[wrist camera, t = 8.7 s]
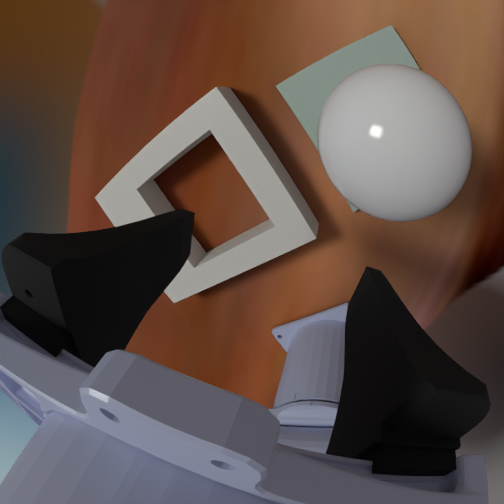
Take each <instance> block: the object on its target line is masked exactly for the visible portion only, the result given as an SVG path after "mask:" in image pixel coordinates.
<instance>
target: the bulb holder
mask: <svg viewBox="0 0 504 504" xmlns="http://www.w3.org/2000/svg"><path fill="white" fill-rule="evenodd" d="M211 134H213V135H214V137H215V138H216V140H217V141H218V142H219V144H220V145H221V147H222V148H223V150H224V151H225V153H226V154H227V155H228V157H229V158H230V160H231V161H232V163H233V164H234V166H235V167H236V169H237V170H238V172H239V173H240V175H241V176H242V177H243V179H244V180H245V182H246V183H247V185H248V186H249V188H250V189H251V191H252V192H253V194H254V195H255V197H256V198H257V200H258V201H259V203H260V204H261V206H262V207H263V209H264V210H265V212H266V213H267V215H268V216H269V218H270V219H268V220H267V221H265V222H263V223H261V224H259V225H257V226H255V227H253V228H251V229H250V230H248V231H246V232H244V233H242V234H240V235H238V236H236V237H234V238H233V239H231V240H229V241H227V242H225V243H223V244H221V245H220V246H218V247H216V248H214V249H212V250H210V251H208V252H207V253H206V252H205V250H204V249H203V248H202V246H201V245H200V244H199V242H198V241H197V240H196V238H195V237H194V235H193V234H192V242H191V252H190V256H189V257H188V259H187V261H186V262H185V264H184V266H183V267H182V269H181V270H180V272H179V273H178V274H177V276H176V277H175V278H174V279H173V281H172V282H171V283H170V284H169V285H168V287H167V288H166V289H165V290H164V292H165V293H166V294H167V295H168V297H169V298H170V299H171V300H172V301H173V303H175V302H178V301H180V300H182V299H184V298H187V297H189V296H191V295H193V294H196V293H198V292H200V291H202V290H205V289H207V288H209V287H211V286H214V285H216V284H218V283H220V282H223V281H225V280H227V279H229V278H231V277H234V276H236V275H238V274H240V273H243V272H245V271H247V270H249V269H251V268H254V267H256V266H258V265H260V264H262V263H265V262H267V261H269V260H271V259H273V258H275V257H278V256H280V255H282V254H284V253H286V252H289V251H291V250H293V249H295V248H297V247H299V246H302V245H304V244H306V243H308V242H310V241H312V240H315V239H316V238H317V232H318V226H319V223H318V221H317V219H316V218H315V216H314V214H313V213H312V211H311V209H310V208H309V206H308V204H307V203H306V201H305V199H304V198H303V196H302V194H301V193H300V191H299V190H298V188H297V186H296V185H295V183H294V182H293V180H292V178H291V177H290V175H289V174H288V172H287V171H286V169H285V167H284V166H283V164H282V163H281V161H280V160H279V158H278V157H277V155H276V153H275V152H274V150H273V149H272V147H271V146H270V144H269V143H268V141H267V140H266V138H265V137H264V135H263V134H262V132H261V131H260V130H259V128H258V127H257V125H256V124H255V122H254V121H253V119H252V118H251V116H250V115H249V114H248V112H247V111H246V109H245V108H244V106H243V105H242V104H241V102H240V101H239V99H238V98H237V97H236V95H235V94H234V92H233V91H232V90H231V88H230V87H215V88H214V89H213V90H211V91H210V92H209V93H208V94H206V95H205V96H204V97H202V98H201V99H200V100H199V101H197V102H196V103H195V104H194V105H192V106H191V107H190V108H189V109H187V110H186V111H185V112H184V113H183V114H181V115H180V116H179V117H178V118H177V119H175V120H174V121H173V122H172V123H171V124H170V125H168V126H167V127H166V128H165V129H164V130H163V131H162V132H160V133H159V134H158V135H157V136H156V137H155V138H154V139H153V140H152V141H151V142H149V143H148V144H147V145H146V146H145V147H144V148H143V149H142V150H141V151H140V152H139V153H138V154H137V155H136V156H135V157H134V158H133V159H132V160H131V161H130V162H128V163H127V164H126V165H125V166H124V167H123V168H122V169H121V170H120V172H119V173H118V174H117V175H116V176H115V177H114V178H113V179H112V180H111V181H110V182H109V183H108V184H107V185H106V186H105V187H104V188H103V189H102V190H101V191H100V193H99V194H98V195H97V196H96V197H95V199H96V200H97V202H98V203H99V204H100V206H101V207H102V209H103V210H104V212H105V213H106V215H107V216H108V217H109V219H110V220H111V222H112V223H113V225H114V226H115V227H118V226H122V225H125V224H129V223H133V222H136V221H140V220H144V219H147V218H150V217H153V216H157V215H160V214H163V213H167V212H170V211H174V210H175V209H174V208H173V206H172V205H171V204H170V202H169V201H168V199H167V198H166V196H165V195H164V194H163V192H162V191H161V189H160V188H159V186H158V185H157V184H156V182H155V181H154V179H155V178H156V177H157V176H159V175H160V174H161V173H162V172H163V171H165V170H166V169H167V168H168V167H169V166H171V165H172V164H173V163H174V162H176V161H177V160H178V159H179V158H181V157H182V156H183V155H184V154H186V153H187V152H188V151H190V150H191V149H192V148H194V147H195V146H196V145H197V144H199V143H200V142H201V141H203V140H204V139H205V138H207V137H208V136H209V135H211Z"/></svg>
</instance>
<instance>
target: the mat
mask: <svg viewBox="0 0 504 504" xmlns="http://www.w3.org/2000/svg"><path fill="white" fill-rule="evenodd" d="M380 63H396V64H403V65H407V66H411V67H414V68H417V69H419V67H418V65H417V64H416V62H415V60H414V59H413V57H412V55H411V54H410V52H409V51H408V49H407V47H406V46H405V44H404V43H403V41H402V40H401V38H400V37H399V35H398V34H397V32H396V31H395V30H394V28H393V27H392V25H390V26H388V27H386V28H384V29H381V30H379V31H377V32H375V33H372V34H370V35H368V36H366V37H364V38H362V39H360V40H358V41H356V42H354V43H352V44H350V45H348V46H346V47H344V48H342V49H340V50H338V51H336V52H334V53H332V54H330V55H328V56H327V57H325V58H323V59H321V60H319V61H317V62H316V63H314V64H312V65H310V66H308V67H307V68H305V69H303V70H302V71H300V72H298V73H296V74H295V75H293V76H291V77H290V78H288V79H286V80H285V81H283V82H281V83H280V84H278V85H277V86H276V87H277V89H278V90H279V92H280V93H281V94H282V96H283V97H284V99H285V100H286V102H287V103H288V105H289V106H290V108H291V109H292V111H293V112H294V114H295V115H296V117H297V118H298V120H299V121H300V123H301V124H302V126H303V127H304V129H305V130H306V132H307V134H308V135H309V137H310V138H311V140H312V141H313V143H314V145H315V146H316V148H317V150H318V142H317V128H318V121H319V116H320V113H321V110H322V107H323V105H324V102H325V100H326V99H327V97H328V95H329V94H330V92H331V91H332V90H333V88H334V87H335V86H336V85H337V84H338V83H339V82H340V81H341V80H342V79H343V78H345V77H346V76H347V75H349V74H351V73H352V72H354V71H356V70H358V69H360V68H363V67H366V66H369V65H374V64H380ZM419 70H420V69H419ZM318 151H319V150H318ZM348 203H349V202H348ZM349 205H350V207H351V209H352V211H353V212H354V211H356V210H359V209H357V208H356V207H355V206H353V205H352V204H351V203H349Z"/></svg>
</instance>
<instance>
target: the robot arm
mask: <svg viewBox="0 0 504 504" xmlns="http://www.w3.org/2000/svg"><path fill="white" fill-rule="evenodd" d="M194 214H195V213H193V212H190V211H187V210H183V209H179V210H174V211H170V212H167V213H163V214H160V215H157V216H153V217H150V218H147V219H144V220H140V221H136V222H133V223H129V224H125V225H122V226H118V227H113V228H108V229H102V230H97V231H88V232H79V233H65V234H43V233H23V234H22V235H20V236H19V237H17V238H16V239H14V240H13V241H11V242H10V243H9V244H7V245H6V246H5V247H4V248H3V252H2V263H3V268H4V271H5V274H6V277H7V280H8V283H9V286H10V289H11V292H12V294H13V296H12V297H11V298H10V299H8V300H7V298H6V297H5V295H3V293H2V292H0V389H1V390H2V391H3V392H4V393H5V394H6V395H7V396H8V397H9V398H10V399H11V400H12V401H13V402H14V403H15V404H16V405H17V406H18V407H19V408H20V409H21V410H23V411H24V412H25V413H26V414H27V415H28V416H29V417H30V418H31V419H33V420H34V421H35V422H36V423H37V424H38V425H40V427H39V428H38V429H37V431H36V432H35V434H34V435H33V437H32V438H31V439H30V441H29V442H28V444H27V445H26V447H25V448H24V450H23V451H22V453H21V454H20V456H19V457H18V458H17V460H16V462H15V463H14V465H13V466H12V468H11V469H10V471H9V472H8V474H7V475H6V477H5V478H4V480H3V481H2V483H1V485H0V504H488V483H487V470H486V459H485V455H483V454H482V455H463V456H459V457H457V458H456V454H455V450H457V449H459V448H460V445H461V444H460V437H462V436H463V435H464V434H466V433H467V432H468V431H470V430H471V429H472V428H474V427H475V426H476V425H477V424H478V423H480V422H481V421H482V420H483V419H484V417H485V416H486V414H487V413H488V412H489V409H490V400H489V396H488V391H487V387H486V384H484V383H483V382H481V381H480V380H479V379H477V378H476V377H474V376H473V375H471V374H470V373H469V372H467V371H466V370H465V369H463V368H462V367H461V366H460V365H459V364H457V363H456V362H455V361H454V360H453V359H451V358H450V357H449V356H448V355H447V354H446V353H445V352H444V351H443V350H442V349H441V348H440V347H439V346H438V345H437V344H436V343H435V342H434V341H433V340H432V339H431V338H430V337H429V336H428V335H427V334H426V332H425V331H424V330H423V329H422V328H421V326H420V325H419V324H418V323H417V321H416V320H415V319H414V317H413V316H412V315H411V313H410V312H409V311H408V309H407V308H406V307H405V305H404V304H403V302H402V301H401V299H400V298H399V296H398V295H397V293H396V292H395V290H394V289H393V287H392V286H391V284H390V283H389V282H388V280H387V279H386V277H385V276H384V275H383V273H382V272H381V271H380V270H377V269H374V268H370V267H366V269H365V271H364V273H363V275H362V277H361V279H360V281H359V283H358V285H357V288H356V290H355V292H354V294H353V296H352V298H351V300H350V302H349V303H344V304H341V305H339V306H336V307H333V308H330V309H328V310H325V311H322V312H319V313H316V314H314V315H311V316H308V317H305V318H302V319H299V320H296V321H293V322H290V323H287V324H284V325H281V326H278V327H275V328H274V329H273V331H272V334H273V335H274V337H275V338H276V339H277V340H278V342H279V343H280V344H281V346H282V347H283V348H284V349H285V351H286V352H287V357H286V360H285V364H284V368H283V372H282V376H281V380H280V384H279V387H278V391H277V395H276V398H275V402H274V405H273V409H267V408H266V407H265V406H263V405H261V404H259V403H257V402H254V401H252V400H250V399H248V398H246V397H244V396H241V395H238V394H235V393H232V392H229V391H227V390H224V389H221V388H218V387H215V386H213V385H210V384H207V383H205V382H202V381H200V380H197V379H194V378H192V377H189V376H187V375H184V374H182V373H180V372H177V371H175V370H172V369H170V368H168V367H165V366H163V365H161V364H158V363H156V362H154V361H152V360H150V359H147V358H145V357H143V356H141V355H138V354H135V353H131V352H128V351H125V348H126V346H127V344H128V343H129V341H130V339H131V337H132V336H133V334H134V332H135V330H136V329H137V327H138V325H139V324H140V322H141V321H142V319H143V317H144V316H145V314H146V313H147V311H148V310H149V309H150V307H151V306H152V305H153V303H154V302H155V301H156V300H157V299H158V297H159V296H160V295H161V294H162V293H163V291H164V290H165V289H166V288H167V287H168V285H169V284H170V283H171V282H172V281H173V279H174V278H175V277H176V276H177V274H178V273H179V272H180V270H181V269H182V267H183V266H184V264H185V262H186V261H187V259H188V257H189V256H190V252H191V242H192V232H193V223H194ZM279 335H281V336H279Z"/></svg>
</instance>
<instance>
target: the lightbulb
mask: <svg viewBox="0 0 504 504" xmlns="http://www.w3.org/2000/svg"><path fill="white" fill-rule="evenodd" d="M317 142H318V150H319V155H320V158H321V162H322V164H323V167H324V169H325V172H326V174H327V175H328V177H329V179H330V181H331V182H332V184H333V185H334V187H335V188H336V189H337V190H338V192H339V193H340V194H341V195H342V196H343V197H344V198H345V199H346V200H347V201H348V202H349V203H351V204H352V205H353V206H355V207H356V208H357V209H359V210H361V211H362V212H364V213H366V214H368V215H371V216H373V217H376V218H379V219H382V220H387V221H394V222H410V221H416V220H421V219H424V218H427V217H429V216H432V215H434V214H436V213H437V212H439V211H441V210H442V209H444V208H445V207H446V206H447V205H449V204H450V203H451V202H452V201H453V200H454V199H455V197H456V196H457V195H458V193H459V192H460V191H461V189H462V187H463V186H464V184H465V182H466V179H467V177H468V174H469V171H470V167H471V161H472V138H471V132H470V128H469V125H468V122H467V119H466V116H465V114H464V112H463V110H462V108H461V106H460V105H459V103H458V101H457V100H456V99H455V97H454V96H453V95H452V94H451V92H450V91H449V90H448V89H447V88H446V87H445V86H444V85H443V84H442V83H440V82H439V81H438V80H437V79H435V78H434V77H432V76H431V75H429V74H427V73H425V72H423V71H421V70H419V69H417V68H414V67H411V66H407V65H403V64H396V63H380V64H374V65H369V66H366V67H363V68H360V69H358V70H356V71H354V72H352V73H351V74H349V75H347V76H346V77H345V78H343V79H342V80H341V81H340V82H339V83H338V84H337V85H336V86H335V87H334V88H333V90H332V91H331V92H330V94H329V95H328V97H327V99H326V100H325V102H324V105H323V107H322V110H321V113H320V116H319V121H318V128H317Z"/></svg>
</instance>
